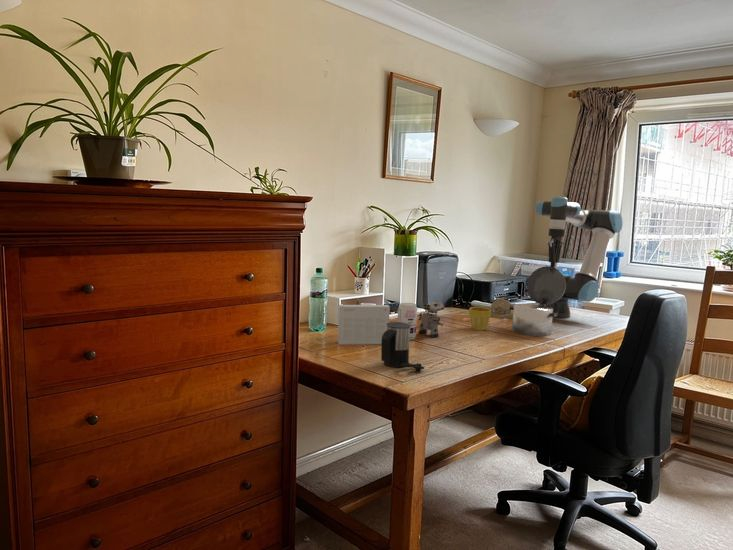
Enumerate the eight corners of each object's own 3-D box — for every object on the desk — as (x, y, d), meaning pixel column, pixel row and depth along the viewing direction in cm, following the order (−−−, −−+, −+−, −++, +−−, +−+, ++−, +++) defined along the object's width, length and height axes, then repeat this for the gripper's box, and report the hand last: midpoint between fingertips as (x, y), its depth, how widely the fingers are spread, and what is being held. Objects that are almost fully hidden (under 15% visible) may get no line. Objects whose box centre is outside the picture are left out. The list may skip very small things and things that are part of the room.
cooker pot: (519, 324, 282) (521, 301, 281) (562, 332, 268) (564, 307, 267) (501, 330, 267) (503, 305, 265) (546, 338, 253) (548, 313, 252)
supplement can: (405, 334, 249) (407, 301, 247) (419, 338, 243) (421, 304, 241) (392, 337, 243) (394, 303, 241) (407, 341, 237) (409, 306, 235)
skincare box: (386, 341, 236) (388, 304, 234) (389, 344, 231) (390, 306, 229) (336, 341, 232) (338, 303, 230) (338, 344, 227) (339, 306, 225)
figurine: (447, 335, 251) (450, 303, 249) (428, 338, 244) (430, 304, 242) (434, 331, 258) (436, 299, 256) (415, 334, 251) (417, 301, 250)
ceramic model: (485, 315, 302) (486, 297, 300) (492, 312, 311) (493, 295, 310) (510, 319, 294) (512, 301, 293) (517, 316, 304) (518, 298, 302)
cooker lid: (523, 301, 279) (526, 302, 282) (560, 306, 267) (563, 308, 270) (531, 264, 281) (534, 266, 284) (568, 268, 269) (571, 270, 272)
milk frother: (387, 359, 209) (389, 320, 207) (429, 364, 204) (431, 325, 202) (377, 369, 195) (379, 328, 193) (421, 375, 191) (423, 333, 189)
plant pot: (490, 332, 262) (491, 311, 261) (467, 330, 264) (469, 309, 263) (489, 327, 272) (491, 307, 271) (468, 325, 274) (469, 306, 273)
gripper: (554, 227, 284) (550, 273, 287) (544, 227, 274) (540, 275, 277) (569, 228, 279) (564, 275, 282) (559, 228, 269) (554, 277, 272)
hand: (552, 275), depth 279 cm, fingers closed
